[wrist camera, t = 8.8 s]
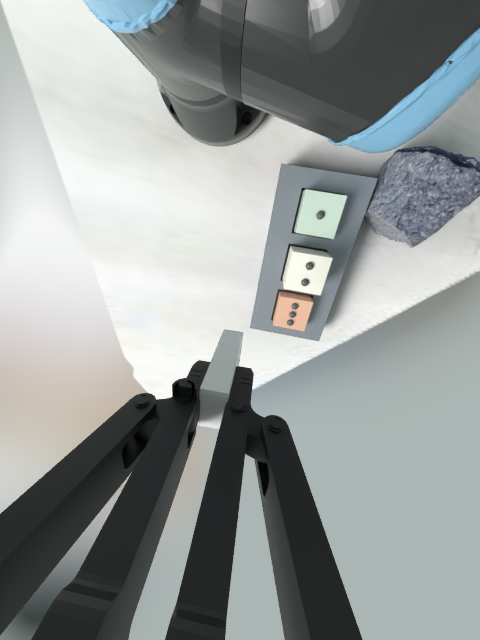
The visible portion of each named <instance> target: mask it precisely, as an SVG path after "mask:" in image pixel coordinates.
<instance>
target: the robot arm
mask: <svg viewBox="0 0 480 640" xmlns="http://www.w3.org/2000/svg"><path fill="white" fill-rule="evenodd" d="M83 1H84V3H85V4H86V5H87V6H88V8H89V9H90V11H91V12H92V13H93V14H94V15H95V16H96V17H97V19H98V20H99V21H101V22H102V23H104V24H106V25H107V26H108V27H109V28H110V30H111V31H112V32H113V33H114V34H115V35H116V36H117V37H118V38H119V39H120V40H121V41H122V42H123V43H124V45H125V46H126V47H127V48H128V49H129V50H130V51H131V52H132V53H133V54H134V55H135V56H136V57H137V59H138V60H139V61H140V62H141V63H142V64H143V65H144V66H145V67H146V68H147V69H148V70H149V71H150V72H151V74H152V75H153V76H154V77H155V78H156V80H157V83H158V87H159V90H160V93H161V95H162V98H163V100H164V103H165V105H166V107H167V109H168V110H169V112H170V114H171V115H172V117H173V118H174V119H175V121H176V122H177V123H178V124H179V125H180V127H181V128H183V129H184V130H185V131H186V132H187V133H188V134H189V135H190V136H192V137H193V138H194V139H196V140H198V141H200V142H202V143H204V144H207V145H211V146H228V145H232V144H235V143H237V142H239V141H241V140H243V139H245V138H246V137H247V136H249V135H250V134H251V133H252V132H253V131H254V130H255V129H256V128H257V127H258V126H259V124H260V123H261V122H262V120H263V119H264V117H265V115H266V114H267V113H268V114H271V115H273V116H276V117H278V118H281V119H283V120H285V121H288V122H290V123H293V124H295V125H298V126H300V127H303V128H305V129H308V130H310V131H313V132H315V133H317V134H320V135H322V136H325V137H327V138H328V140H329V142H331V143H332V144H334V145H341V146H343V145H347V146H350V147H353V148H356V149H358V150H361V151H364V152H368V153H378V152H385V151H390V150H392V149H394V148H397V147H399V146H400V145H402V144H404V143H406V142H407V141H409V140H410V139H412V138H413V137H415V136H416V135H418V134H419V133H420V132H422V131H423V130H424V129H425V128H427V127H428V126H429V125H430V124H431V123H433V122H434V121H435V120H436V119H437V118H438V117H440V116H441V115H442V114H443V113H444V112H445V111H446V110H447V109H448V108H449V107H450V106H452V105H453V104H454V103H455V102H456V101H457V100H458V99H459V98H460V97H461V96H462V95H463V94H464V93H465V92H466V91H467V90H468V89H469V88H470V87H471V86H472V85H473V84H474V82H475V81H476V80H477V79H478V78H479V77H480V0H83ZM242 338H243V332H237V331H231V330H224V331H223V333H222V336H221V338H220V341H219V343H218V346H217V348H216V350H215V353H214V355H213V358H212V360H211V362H206V361H200V360H199V361H197V362H196V363H195V364H193V366H192V368H191V371H190V372H189V374H188V376H187V378H183V379H179V380H177V381H175V382H174V383H173V384H172V392H173V397H171V398H168V399H159V400H156V398H155V396H153V395H152V394H149V393H143V394H142V393H141V394H138V395H136V396H134V397H133V398H132V399H130V400H129V401H128V402H127V403H126V404H125V405H124V406H123V407H121V408H120V409H119V410H118V411H117V412H116V413H115V414H113V415H112V416H111V417H110V418H109V419H108V420H107V421H105V423H103V424H102V425H101V426H100V427H99V428H97V429H96V430H95V431H94V432H93V433H92V434H91V435H90V436H88V437H87V438H86V439H85V440H84V441H83V442H82V443H80V444H79V445H78V446H77V447H76V448H75V449H74V450H72V451H71V452H70V453H69V454H68V455H67V456H66V457H64V458H63V460H61V461H60V462H59V463H58V464H57V465H55V466H54V467H53V468H52V469H51V470H50V471H49V472H47V473H46V474H45V475H44V476H43V477H42V478H41V479H39V480H38V481H37V482H36V483H35V484H34V485H33V486H32V487H30V488H29V489H28V490H27V491H26V492H25V493H24V494H23V495H21V496H20V497H19V498H18V499H17V500H16V501H14V502H13V503H12V504H11V505H10V506H9V507H8V508H7V509H6V510H4V511H3V512H2V513H1V514H0V635H1V634H2V632H3V631H4V630H5V629H6V628H7V626H8V625H9V624H10V623H11V621H12V620H13V619H14V618H15V616H16V615H17V614H18V613H19V611H20V610H21V609H22V608H23V606H24V605H25V604H26V603H27V601H28V600H29V599H30V598H31V596H32V595H33V594H34V593H35V591H36V590H37V589H38V588H39V586H40V585H41V584H42V583H43V582H44V580H45V579H46V577H48V575H49V574H50V573H51V572H52V570H53V569H54V568H55V567H56V565H57V564H58V563H59V561H60V560H61V559H62V558H63V557H64V555H65V554H66V553H67V552H68V550H69V549H70V548H71V547H72V545H73V544H74V543H75V542H76V540H77V539H78V538H79V537H80V535H81V534H82V533H83V532H84V530H85V529H86V528H87V527H88V525H89V524H90V523H91V521H92V520H93V519H94V518H95V517H96V516H97V514H98V513H99V512H100V511H101V509H102V508H103V507H104V506H105V504H106V503H107V502H108V501H109V499H110V498H111V497H112V496H113V494H114V493H115V492H116V491H117V489H118V488H119V487H120V486H121V484H122V483H123V482H124V481H125V480H126V478H127V477H128V476H129V475H130V473H131V472H132V473H131V475H130V477H129V479H128V481H127V483H126V484H125V486H124V488H123V490H122V492H121V494H120V496H119V497H118V500H117V501H116V503H115V505H114V507H113V509H112V510H111V512H110V514H109V516H108V518H107V520H106V522H105V523H104V525H103V527H102V529H101V531H100V533H99V535H98V537H97V538H96V541H95V542H94V544H93V546H92V548H91V550H90V552H89V553H88V555H87V557H86V559H85V561H84V563H83V564H82V566H81V568H80V570H79V572H78V574H77V575H76V577H75V578H74V580H73V581H72V582H71V583H70V584H69V585H67V586H66V587H65V588H64V589H63V590H62V591H61V592H60V593H59V594H58V596H57V597H56V599H55V600H54V601H53V603H52V605H51V606H50V608H49V610H48V611H47V613H46V614H45V616H44V618H43V620H42V622H41V623H40V625H39V627H38V629H37V631H36V632H35V634H34V636H33V638H32V639H31V640H128V638H129V633H130V627H131V624H132V620H133V617H134V614H135V611H136V608H137V605H138V602H139V599H140V596H141V593H142V590H143V587H144V584H145V581H146V579H147V575H148V573H149V570H150V567H151V564H152V561H153V558H154V555H155V552H156V549H157V546H158V543H159V540H160V537H161V534H162V531H163V528H164V526H165V523H166V520H167V517H168V514H169V511H170V508H171V505H172V502H173V499H174V496H175V493H176V490H177V487H178V485H179V482H180V479H181V476H182V473H183V470H184V467H185V464H186V461H187V458H188V455H189V452H190V449H191V446H192V444H193V441H194V437H195V435H196V426H197V423H198V421H199V426H204V427H210V428H215V429H219V433H218V437H217V441H216V445H215V449H214V453H213V457H212V461H211V465H210V469H209V474H208V478H207V482H206V486H205V490H204V494H203V498H202V502H201V507H200V510H199V514H198V518H197V522H196V526H195V530H194V535H193V539H192V543H191V547H190V551H189V555H188V559H187V563H186V567H185V571H184V575H183V579H182V584H181V587H180V592H179V596H178V599H177V603H176V606H175V609H174V612H173V615H172V618H171V621H170V624H169V627H168V631H167V635H166V639H165V640H225V632H226V631H225V630H226V617H227V608H228V598H229V590H230V581H231V572H232V563H233V555H234V546H235V537H236V528H237V520H238V511H239V502H240V492H241V485H242V476H243V467H244V458H245V454H247V455H248V456H250V457H252V458H254V459H255V464H256V470H257V477H258V482H259V488H260V494H261V500H262V506H263V512H264V518H265V524H266V529H267V536H268V542H269V548H270V554H271V560H272V565H273V572H274V577H275V584H276V589H277V595H278V601H279V607H280V613H281V619H282V624H283V631H284V637H285V640H362V637H361V634H360V631H359V628H358V626H357V623H356V620H355V617H354V614H353V611H352V608H351V606H350V603H349V600H348V597H347V594H346V591H345V588H344V585H343V582H342V580H341V577H340V574H339V571H338V568H337V565H336V562H335V559H334V557H333V554H332V551H331V548H330V545H329V542H328V540H327V536H326V533H325V531H324V528H323V525H322V522H321V519H320V516H319V514H318V511H317V507H316V505H315V502H314V499H313V496H312V493H311V490H310V487H309V484H308V482H307V479H306V476H305V473H304V470H303V467H302V464H301V461H300V458H299V456H298V453H297V450H296V447H295V444H294V441H293V438H292V435H291V433H290V430H289V427H288V425H287V423H286V421H285V420H283V419H282V418H281V417H279V416H275V415H270V416H267V417H265V418H264V417H262V416H260V415H258V414H256V413H255V412H254V411H253V409H252V408H251V404H250V401H251V392H252V384H253V375H254V374H253V372H252V369H251V368H245V367H239V361H240V354H241V346H242Z"/></svg>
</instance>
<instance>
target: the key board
mask: <svg viewBox="0 0 480 640" xmlns="http://www.w3.org/2000/svg"><path fill="white" fill-rule="evenodd" d="M377 180H378V178H372V177H366V176H359V175H353V174H346V173H340V172H333V171H327V170H320V169H313V168H307V167H300V166H294V165H287V164H281V168H280V174H279V179H278V184H277V189H276V195H275V200H274V205H273V210H272V216H271V221H270V226H269V231H268V237H267V242H266V247H265V252H264V258H263V263H262V268H261V273H260V279H259V284H258V289H257V294H256V300H255V305H254V310H253V315H252V320H251V326H250V328H253V329H258V330H263V331H268V332H274V333H279V334H284V335H289V336H294V337H299V338H305V339H310V340H315V341H319V340H320V337H321V334H322V331H323V329H324V326H325V323H326V320H327V318H328V315H329V312H330V309H331V307H332V304H333V301H334V298H335V295H336V293H337V290H338V287H339V284H340V282H341V279H342V276H343V273H344V271H345V268H346V265H347V262H348V260H349V257H350V254H351V251H352V249H353V246H354V243H355V240H356V238H357V235H358V232H359V229H360V226H361V224H362V221H363V218H364V215H365V213H366V210H367V207H368V204H369V202H370V199H371V196H372V193H373V191H374V188H375V185H376V182H377ZM306 189H307V190H314V191H320V192H326V193H333V194H339V195H345V196H347V199H346V202H345V205H344V208H343V211H342V215H341V218H340V221H339V224H338V227H337V230H336V233H335V236H334V239H329V238H323V237H317V236H311V235H306V234H300V233H295V232H294V231H293V226H294V221H295V217H296V213H297V209H298V204H299V200H300V196H301V192H302V191H304V190H306ZM290 246H296V247H302V248H308V249H313V250H319V251H325V252H326V253H327V254H328V255H329V256H331V257H332V258H333V259H332V262H331V265H330V268H329V271H328V274H327V277H326V280H325V283H324V286H323V289H322V292H321V295H315V294H309V293H304V292H299V291H293V290H288V289H284V287H283V279H282V278H283V274H284V270H285V266H286V262H287V257H288V253H289V249H290ZM278 289H280V290H286V291H291V292H296V293H302V294H307V295H310V296H311V298H312V300H313V305H312V308H311V312H310V315H309V318H308V321H307V324H306V327H305V330H304V331H299V330H294V329H289V328H284V327H279V326H273V310H274V306H275V302H276V298H277V293H278Z"/></svg>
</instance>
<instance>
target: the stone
mask: <svg viewBox="0 0 480 640" xmlns="http://www.w3.org/2000/svg"><path fill="white" fill-rule="evenodd" d="M468 159H475V158H473V157H465V156H463V155H461V154H453V153H451V152H447V151H446V152H445V151H444V150H442V149H440V148H437V147H435V146H434V147H433V146H429V147H414V148H407V149H398V150H397V151H395V153H394V155H393V156H391V157H390V158H389V159H388V160H387V162H386V163H385V164H384V165H383V167H382V168H381V170H380V173H379V176H378V180H377V182H376V185H375V188H374V191H373V193H372V196H371V199H370V202H369V204H368V207H367V210H366V213H365V215H364V217H365V218H366V220H367V221H368V222H369V224H370V226H371V227H372V228H373V230H374V232H375V233H377V234H380V235H384V236H385V237H388V238H389V239H390V240H395V241H399V242H400V241H401V242H406V243H407V244H408V245H409V246H410V247H414V246H416V245H418V244H420V243H421V242H423V241H424V240H426V239H427V238H428V237H430V236H431V235H433V234H434V233H436V232H437V231H438V230H440V229H441V228H442V227H443V226H444V225H445V224H446V223H447V222H448V221H449V220H450V219H452V218H453V217H454V216H455V215H456V214H457V213H458V212H459V211H461V210H462V209H464V208H465V207H466V206H468V205H470V204H471V203H472V202H473V201H474V200H475V199H476V198H477V197H479V196H480V162H477V164H476V166H473V164H471V162H470V161H469V162H470V163H468V162H467V161H466V160H468ZM475 161H477V160H476V159H475Z"/></svg>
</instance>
